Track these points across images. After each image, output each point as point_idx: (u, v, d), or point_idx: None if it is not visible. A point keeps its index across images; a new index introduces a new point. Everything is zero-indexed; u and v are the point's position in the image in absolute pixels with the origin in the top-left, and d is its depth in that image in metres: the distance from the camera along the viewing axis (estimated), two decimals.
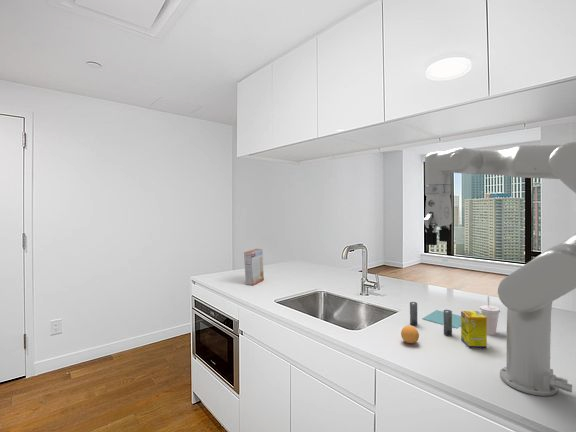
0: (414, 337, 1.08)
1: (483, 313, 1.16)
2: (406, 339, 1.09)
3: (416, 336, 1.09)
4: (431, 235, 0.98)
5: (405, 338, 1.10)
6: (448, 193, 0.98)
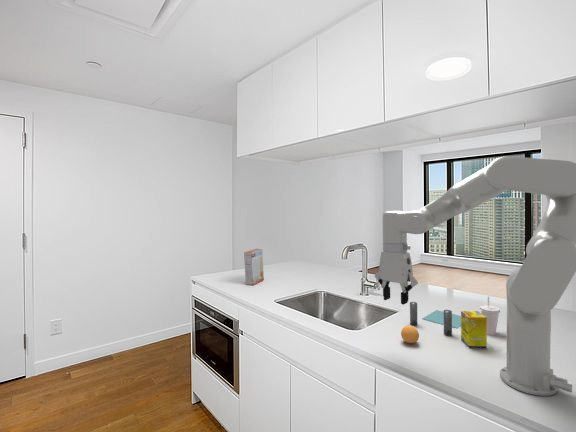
0: (414, 337, 1.08)
1: (483, 313, 1.16)
2: (406, 339, 1.09)
3: (416, 336, 1.09)
4: (407, 294, 1.01)
5: (405, 338, 1.10)
6: None
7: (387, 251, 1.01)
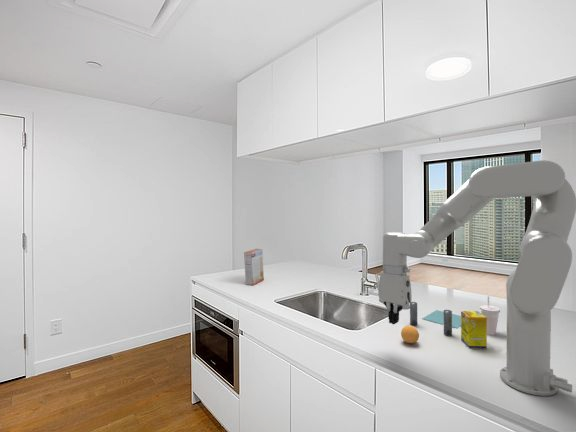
0: (414, 337, 1.08)
1: (483, 313, 1.16)
2: (406, 339, 1.09)
3: (416, 336, 1.09)
4: (398, 314, 1.04)
5: (405, 338, 1.10)
6: None
7: (387, 273, 1.02)
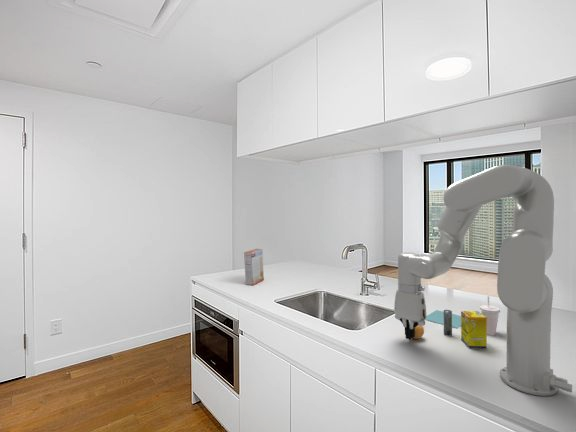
0: (421, 327, 1.13)
1: (483, 313, 1.16)
2: None
3: (422, 328, 1.13)
4: (414, 330, 1.11)
5: None
6: None
7: (403, 291, 1.09)
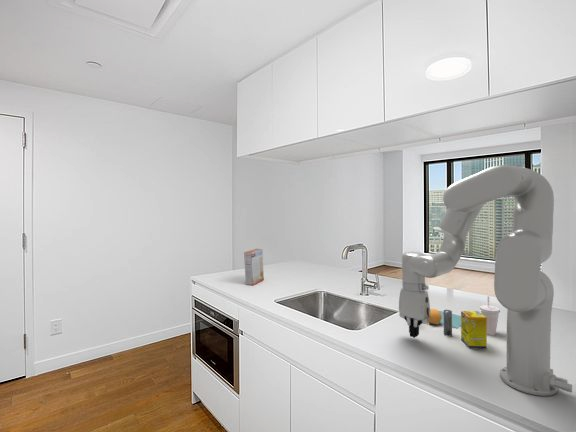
0: (438, 314, 1.25)
1: (483, 313, 1.16)
2: (431, 313, 1.26)
3: (440, 315, 1.25)
4: (418, 328, 1.12)
5: (430, 312, 1.26)
6: None
7: (407, 290, 1.10)
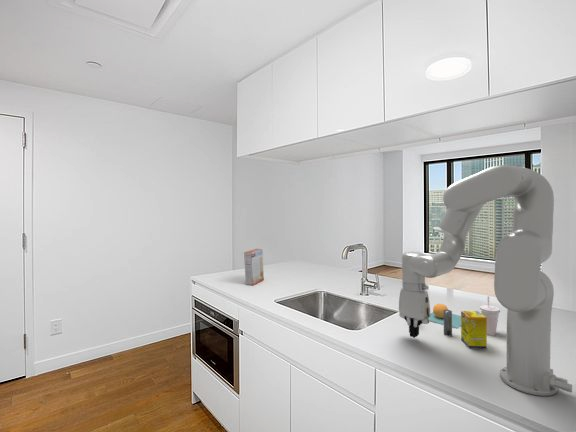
0: None
1: (483, 313, 1.16)
2: None
3: None
4: (418, 328, 1.12)
5: None
6: None
7: (407, 290, 1.10)
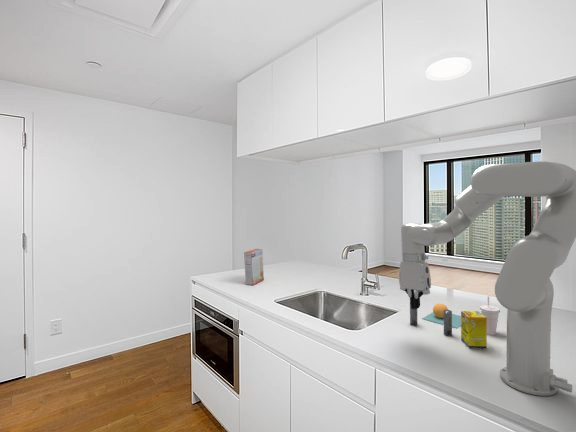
0: None
1: (483, 313, 1.16)
2: None
3: None
4: (419, 300, 1.12)
5: None
6: None
7: (407, 261, 1.10)
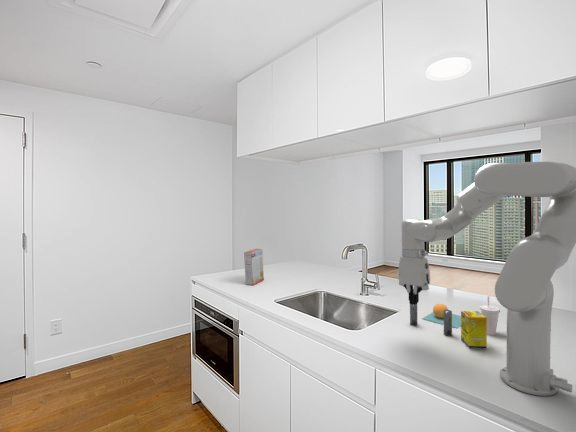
0: None
1: (483, 313, 1.16)
2: None
3: None
4: (418, 295, 1.12)
5: None
6: None
7: (406, 256, 1.10)
